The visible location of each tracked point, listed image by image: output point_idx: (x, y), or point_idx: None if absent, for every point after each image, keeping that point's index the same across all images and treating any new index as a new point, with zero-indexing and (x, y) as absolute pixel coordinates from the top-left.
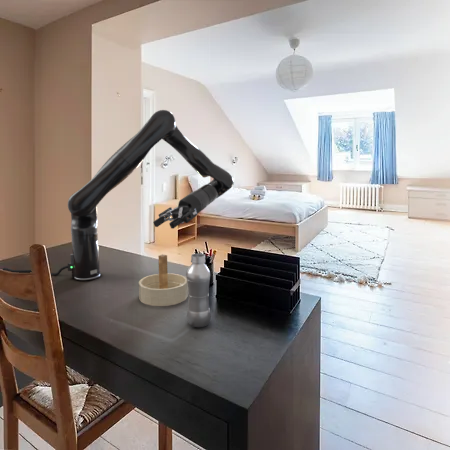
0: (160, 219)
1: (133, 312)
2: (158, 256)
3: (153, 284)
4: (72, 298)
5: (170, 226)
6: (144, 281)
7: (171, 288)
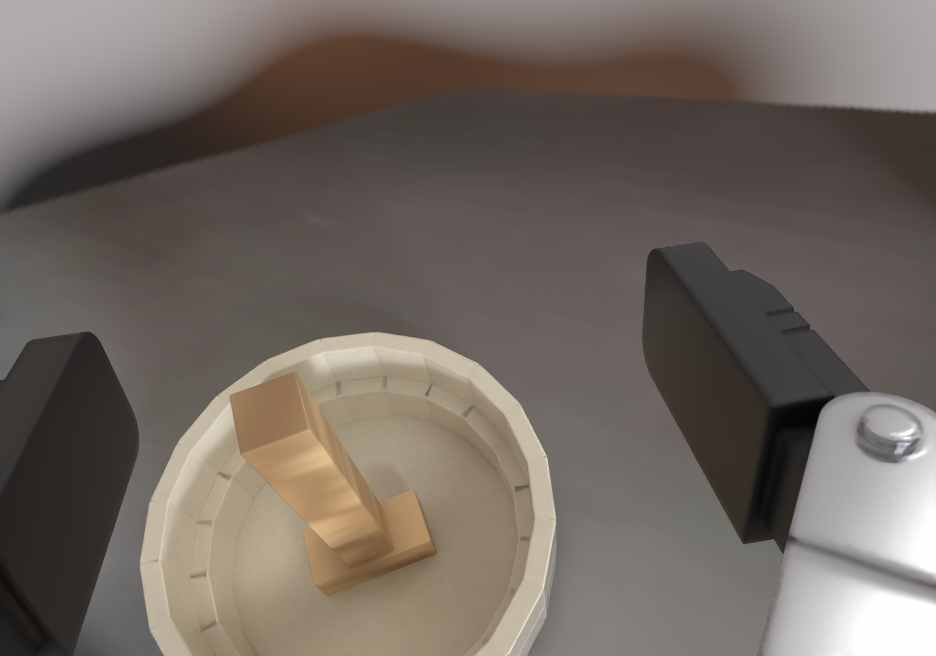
0: (725, 385)
1: (323, 320)
2: (298, 376)
3: (516, 519)
4: (709, 142)
5: (116, 387)
6: (502, 421)
7: (161, 479)
